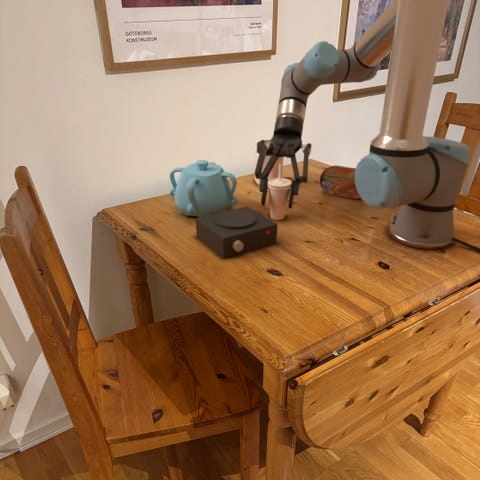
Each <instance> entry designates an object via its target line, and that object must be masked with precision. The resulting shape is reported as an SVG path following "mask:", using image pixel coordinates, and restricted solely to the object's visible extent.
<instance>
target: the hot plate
mask: <svg viewBox="0 0 480 480" xmlns="http://www.w3.org/2000/svg"><path fill="white" fill-rule="evenodd" d="M278 225H279V224H278V223H277V222H275V221H273V219H270V218H268V217H267V216H265V215H263V214H262V213H260V212H258V211H257V210H255V209H253V208H252V207H250V206H248V205H245V206H241V207H238V208H234V209H228V210H227V209H226V210H225V211H222V212H220V213H215V214H211V215H207V216H203V217H199V216H198V217H196V218H195V229H196V230H195V231H196V238H197V239H199V240H200V241H201V242H202V243H203V244H205V246H207V247H208V248H210V249H211V250H212V251H213V252H215V254H218V256H220V257H221V258H222V259H226V258H230V257H234V256H236V255H240V254H244V253H247V252H250V251H254V250H258V249H261V248H264V247H268V246H271V245H275V244H277V240H278Z"/></svg>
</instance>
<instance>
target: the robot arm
mask: <svg viewBox="0 0 480 480" xmlns="http://www.w3.org/2000/svg"><path fill="white" fill-rule="evenodd" d="M449 3H450V0H393V1H392V2H391V3H390V4H389V5H388V7H387V8H385V10H384V11H383V12H382V13H381V14H380V15H379V16H378V17H377V18H376V20H375V21H374V22H373V23H372V24H371V25H370V26H369V27H368V28H367V30H366V31H364V33H363V34H362V35H361V37H359V38H358V40H357V41H356V42H355V43H354V44H353V45H352V46H351V47H350V48H347V49H345V48H344V49H337V47H335V46H334V45H333V43H329V42H328V41H326V40H321V41H318V42H317V43H315V44H314V45H313V46H312V47H311V48H310V49H309V50H308V51H307V52H306V53H305V55H303V57H302V58H301V60H300V61H299V62H294V63H292V64H289V65H287V66H286V67H285V69H284V71H283V75H282V77H281V78H282V79H281V83H280V84H281V85H280V92H279V98H278V103H277V104H278V105H277V109H276V114H275V123H274V129H273V134H272V138H270V139H269V140H270V141H264V140H265V139H261V140H260V144H261V150H260V154H259V157H258V161H257V165H256V169H255V168H254V178H255V177H256V179H260V185H258V188H259V193H261V199H260V203H261V206H262V207H264V206H266V202H267V201H266V200H267V194H268V190H269V187H268V186H267V183H268V176H269V174H270V172H271V170H272V169H273V167H274V165H275V163H276V161H277V160H278V159H279V157H284V158H287V159H290V163H291V168H292V174H293V177H294V179H291V182H292V184H291V188H290V191H289V196H288V209H293V203H294V197H295V196H298V195H299V191H300V185H301V184H303V183H304V184H306V183H308V175H309V161H310V160H309V158H310V155H311V152H312V143H310V142H308V143H304V142H303V140H302V136H303V131H304V124H305V118H306V111H307V104H308V100H309V97H310V96H311V95H312V94H313V93H314V92H315V91H316V90H317V89H318V88H319V87H320V86H322V85H323V86H325V85H337V84H338V85H339V84H349V83H360V84H361V83H364V82H367V81H371V80H372V79H374V78H375V77H376V76H377V73H378V71H379V69H380V66H381V61H383V60H384V58H386V57H387V56H388V55H389V54H390V59H389V63H388V72H387V79H386V86H385V93H384V97H383V98H384V99H383V105H382V106H383V107H382V112H381V119H380V127H379V132H378V134H377V135H376V136H375V137H374V138H373V139H372V140H371V141H370V144H369V151H368V154H367V155H364V156H363V157H362V158H361V159H360V161H358V162H357V164H356V167H355V168H356V170H355V185H356V189H357V191H358V194H360V197H361V198H360V199H361V200H362V201H363V203H364V204H365V205H366V206H368V207H369V208H371V209H374V210H385V209H394V208H395V209H396V208H397V207H399V209H398V210H397V212H396V214H395V215H394V217H391V222H390V224H389V228H388V234H389V236H390V237H391V238H392V239H393V240H395V241H396V242H398V243H400V244H403V245H405V246H408V247H411V248H417V249H423V250H438V249H439V250H440V249H443V248H444V249H445V248H446V247H449V246H450V245H451V244H452V242H455V243H457V244H460V245H463V246H465V247H467V248H470V249H471V250H474V251H476V252H480V247H479V246H476V245H474V244H470V243H468V242H467V241H463V240H461V239H459V238H456V237H454V235H455V230H454V229H455V226H454V225H455V224H454V223H455V222H454V211H455V206H456V203H457V200H458V197H459V193H460V190H461V188H462V187H461V186H462V184H463V181H464V178H465V174H466V171H467V170H468V167H469V164H470V163H469V161H470V157H471V155H472V154H471V153H472V152H471V151H472V150H471V147H469V146H468V145H467V144H466V143H463V142H460V141H457V140H452V139H448V138H443V137H437V136H425V135H424V129H425V125H426V120H427V116H428V109H429V105H430V100H431V95H432V89H433V84H434V79H435V74H436V69H437V64H438V58H439V53H440V50H441V49H440V48H441V44H442V38H443V34H444V29H445V23H446V19H447V13H448V8H449ZM270 146H271V147H272V148H273V153H272V155H271V157H270V159H269V161H268V163H267V165H266V166H265V168H264V170H263V172H262V173H261V171H262V168H263V164H264V160H265V156H266V151H267V150H268V149H269V147H270ZM301 149H302V150H301ZM300 150H301V151H302V153H303V163H302V164H303V165H302V175H300V171H299V166H298V161H297V156H296V154H297V153H298V152H299V151H300ZM393 213H394V212H392V214H391V215H393Z"/></svg>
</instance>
